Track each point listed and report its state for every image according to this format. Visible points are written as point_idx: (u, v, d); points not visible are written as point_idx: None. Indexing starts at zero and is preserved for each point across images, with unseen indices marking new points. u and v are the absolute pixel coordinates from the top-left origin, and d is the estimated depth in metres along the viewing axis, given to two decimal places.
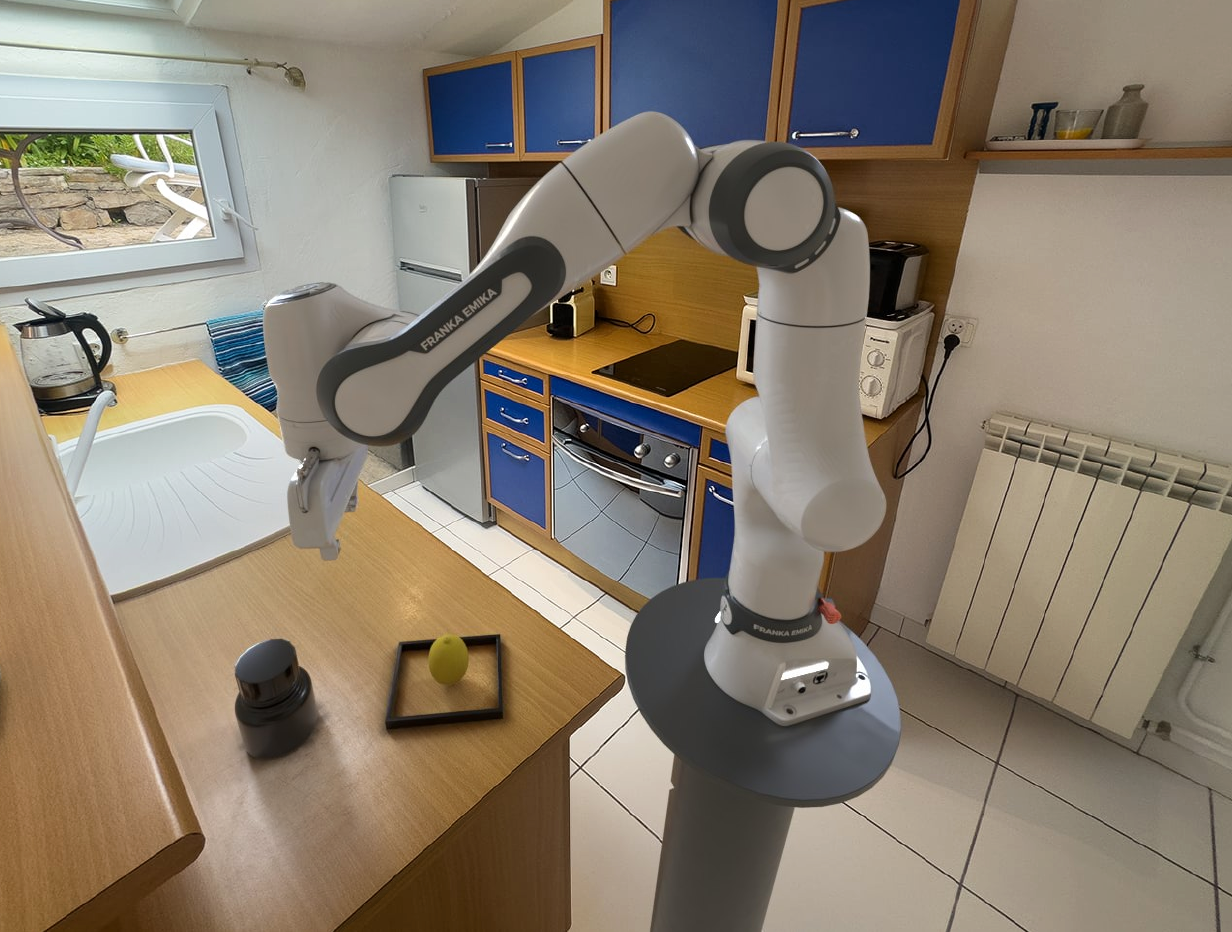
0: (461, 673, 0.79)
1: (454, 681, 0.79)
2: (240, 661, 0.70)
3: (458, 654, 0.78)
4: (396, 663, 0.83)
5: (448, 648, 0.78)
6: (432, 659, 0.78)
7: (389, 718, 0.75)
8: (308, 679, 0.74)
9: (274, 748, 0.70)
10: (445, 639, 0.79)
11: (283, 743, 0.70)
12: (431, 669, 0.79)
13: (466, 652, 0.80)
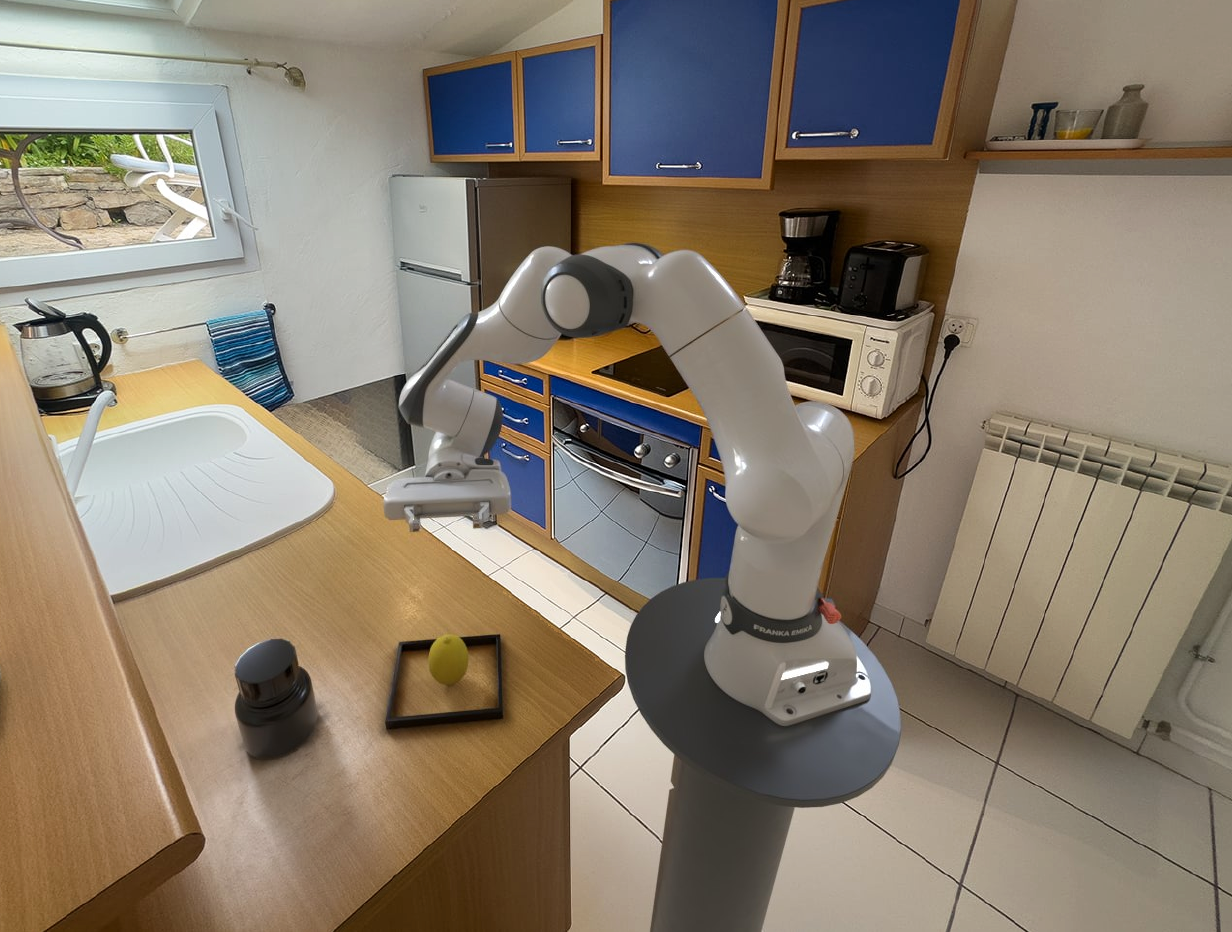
0: (461, 673, 0.79)
1: (454, 681, 0.79)
2: (240, 661, 0.70)
3: (458, 654, 0.78)
4: (396, 663, 0.83)
5: (448, 648, 0.78)
6: (432, 659, 0.78)
7: (389, 718, 0.75)
8: (308, 679, 0.74)
9: (274, 748, 0.70)
10: (445, 639, 0.79)
11: (283, 743, 0.70)
12: (431, 669, 0.79)
13: (466, 652, 0.80)
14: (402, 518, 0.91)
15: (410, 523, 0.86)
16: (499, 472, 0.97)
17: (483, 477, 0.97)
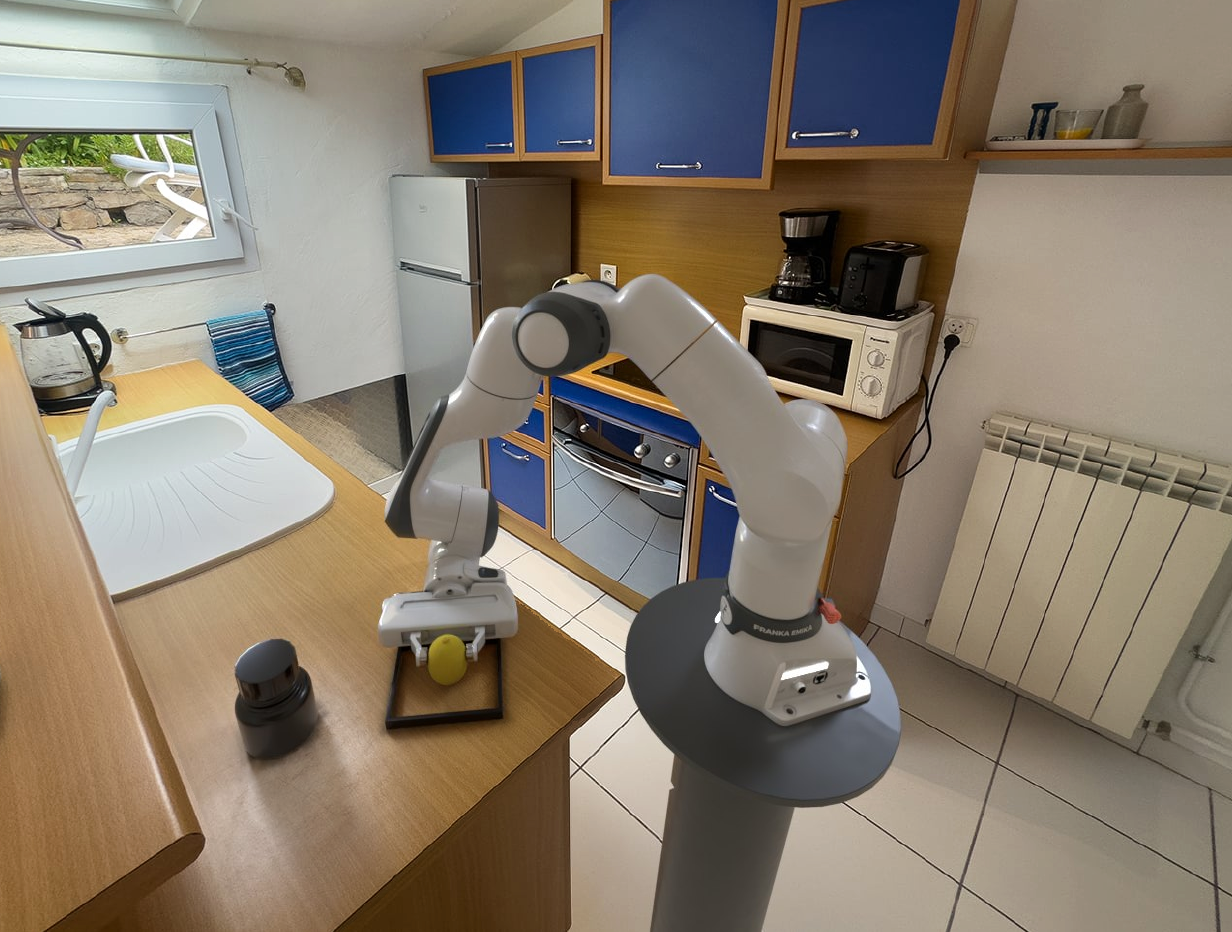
0: (460, 673, 0.79)
1: (453, 681, 0.79)
2: (240, 661, 0.70)
3: (457, 654, 0.78)
4: (396, 663, 0.83)
5: (446, 648, 0.78)
6: (430, 659, 0.78)
7: (389, 718, 0.75)
8: (308, 679, 0.74)
9: (274, 748, 0.70)
10: (443, 639, 0.79)
11: (283, 743, 0.70)
12: (430, 669, 0.79)
13: (465, 652, 0.80)
14: (399, 645, 0.83)
15: (417, 657, 0.78)
16: (504, 586, 0.89)
17: (486, 592, 0.89)
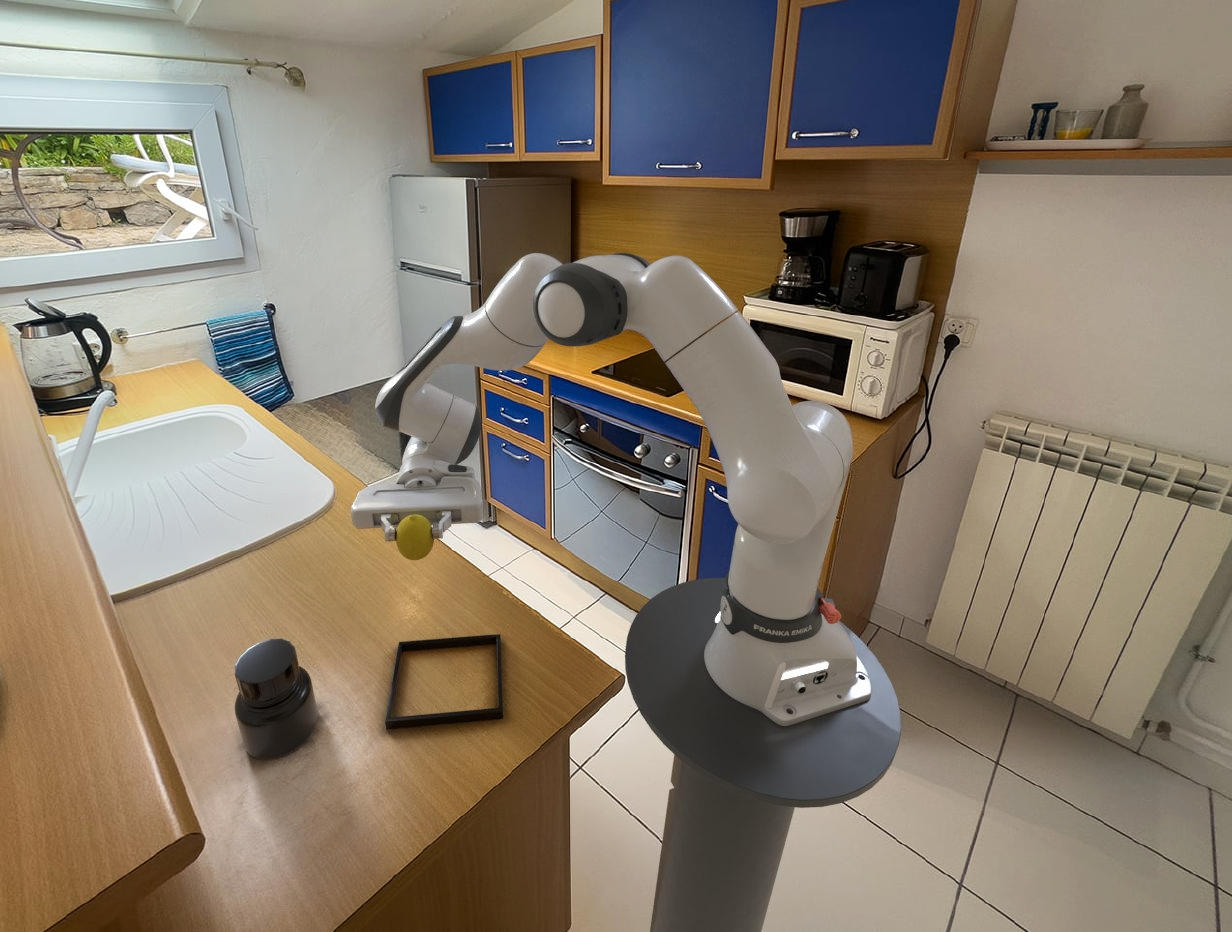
0: (426, 548, 0.85)
1: (420, 555, 0.85)
2: (240, 661, 0.70)
3: (423, 529, 0.84)
4: (396, 663, 0.83)
5: (413, 523, 0.84)
6: (398, 534, 0.84)
7: (389, 718, 0.75)
8: (308, 679, 0.74)
9: (274, 748, 0.70)
10: (410, 516, 0.84)
11: (283, 743, 0.70)
12: (398, 544, 0.84)
13: (431, 530, 0.86)
14: (370, 527, 0.89)
15: (386, 532, 0.84)
16: (472, 479, 0.95)
17: (455, 485, 0.94)
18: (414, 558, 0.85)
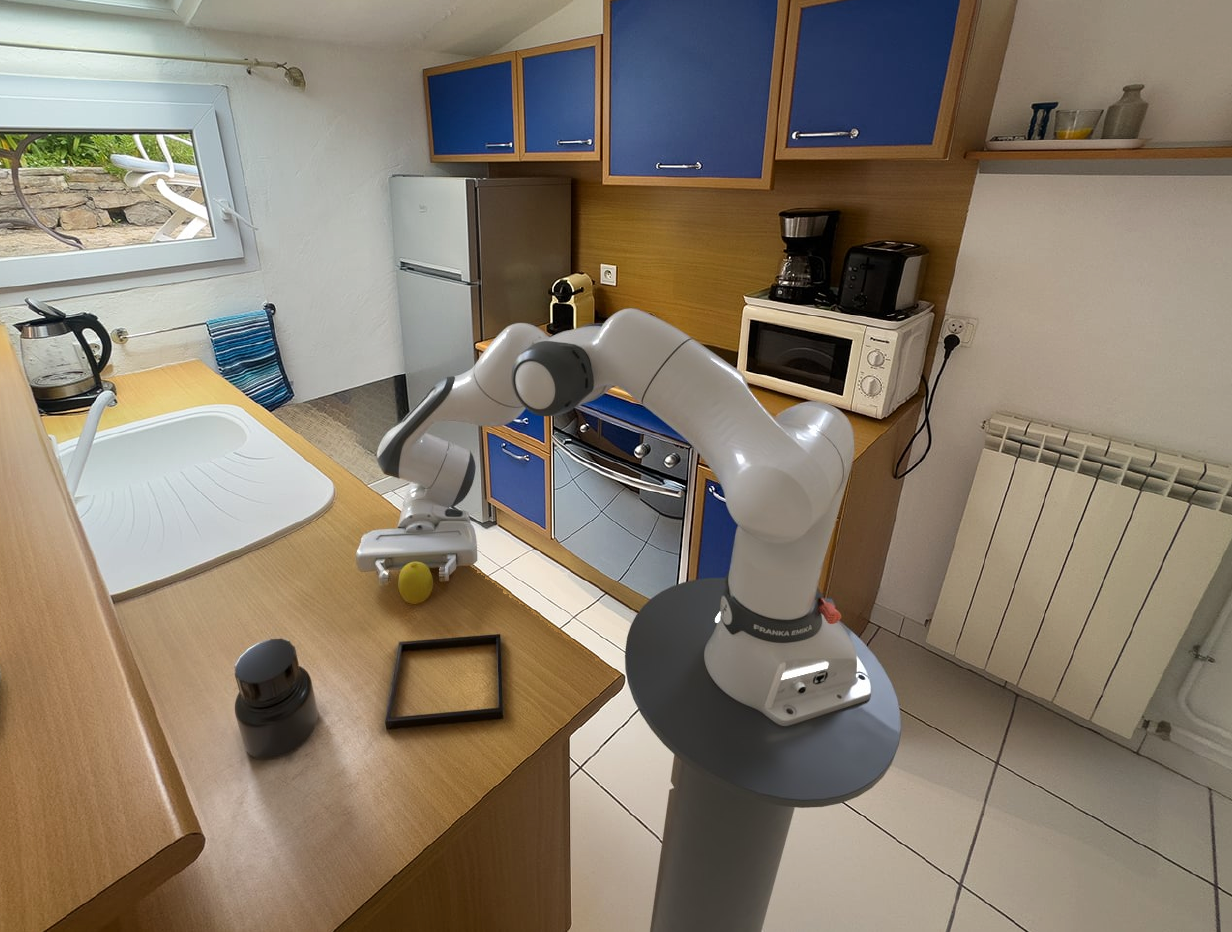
0: (425, 593, 0.93)
1: (419, 600, 0.93)
2: (240, 661, 0.70)
3: (423, 576, 0.92)
4: (396, 663, 0.83)
5: (414, 571, 0.92)
6: (400, 580, 0.92)
7: (389, 718, 0.75)
8: (308, 679, 0.74)
9: (274, 748, 0.70)
10: (412, 564, 0.93)
11: (283, 743, 0.70)
12: (400, 589, 0.93)
13: (430, 576, 0.94)
14: (374, 570, 0.97)
15: (380, 577, 0.92)
16: (467, 524, 1.03)
17: (451, 529, 1.02)
18: (414, 602, 0.93)
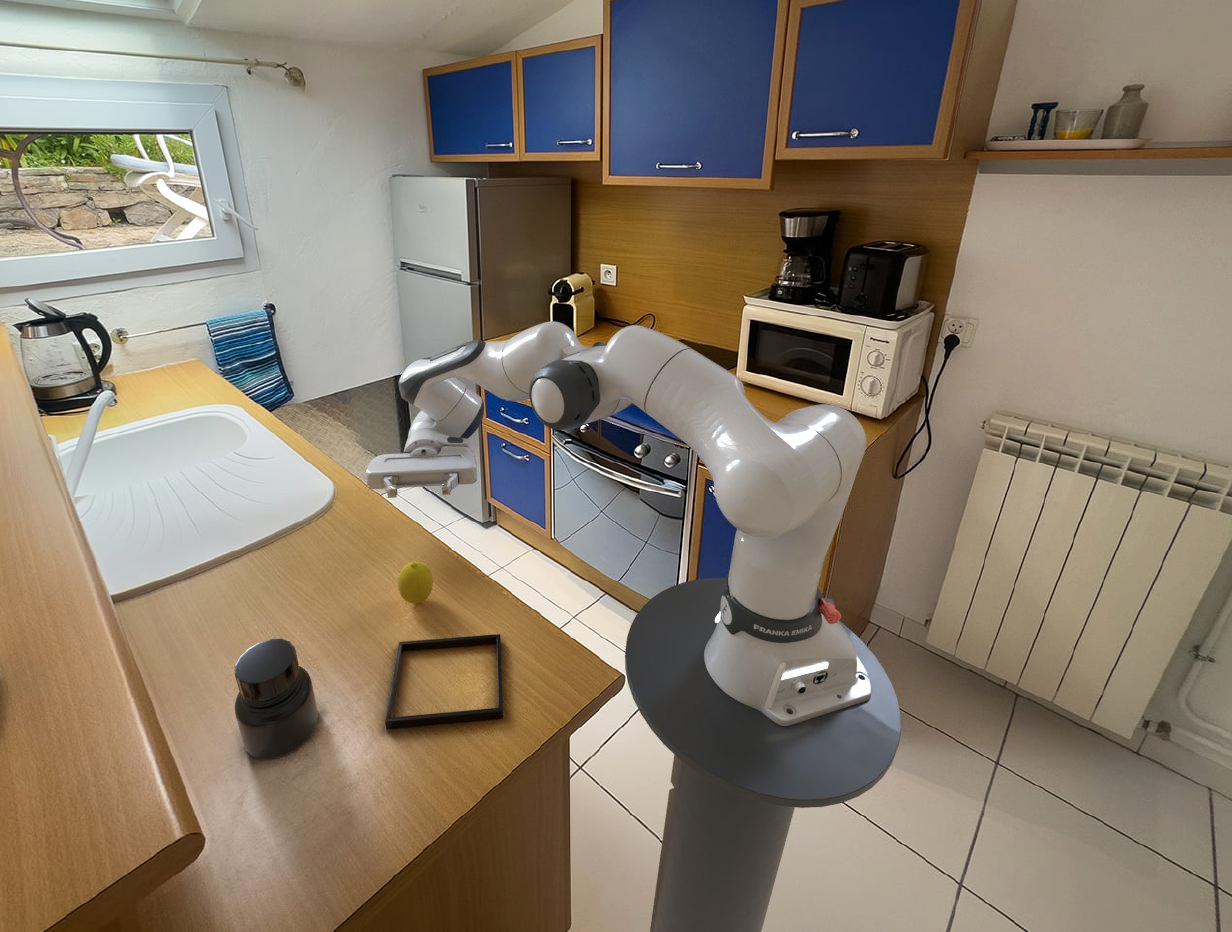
0: (425, 593, 0.93)
1: (419, 600, 0.93)
2: (240, 661, 0.70)
3: (423, 576, 0.92)
4: (396, 663, 0.83)
5: (414, 571, 0.92)
6: (400, 580, 0.92)
7: (389, 718, 0.75)
8: (308, 679, 0.74)
9: (274, 748, 0.70)
10: (412, 564, 0.93)
11: (283, 743, 0.70)
12: (400, 589, 0.93)
13: (430, 576, 0.94)
14: (382, 487, 1.05)
15: (388, 490, 1.01)
16: (467, 448, 1.11)
17: (453, 453, 1.11)
18: (414, 602, 0.93)
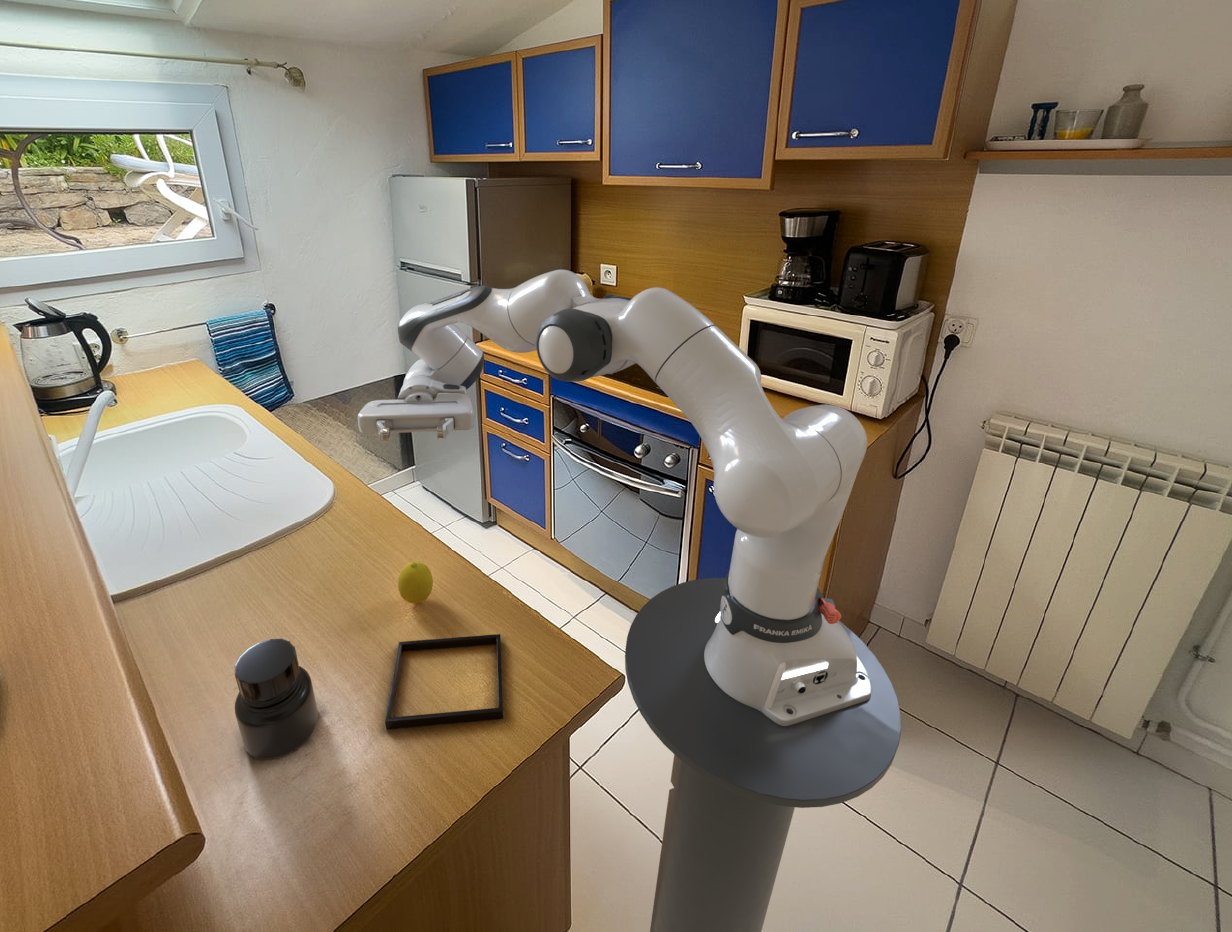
0: (425, 593, 0.93)
1: (419, 600, 0.93)
2: (240, 661, 0.70)
3: (423, 576, 0.92)
4: (396, 663, 0.83)
5: (414, 571, 0.92)
6: (400, 580, 0.92)
7: (389, 718, 0.75)
8: (308, 679, 0.74)
9: (274, 748, 0.70)
10: (412, 564, 0.93)
11: (283, 743, 0.70)
12: (400, 589, 0.93)
13: (430, 576, 0.94)
14: (375, 432, 1.01)
15: (380, 432, 0.97)
16: (464, 395, 1.07)
17: (449, 399, 1.07)
18: (414, 602, 0.93)
